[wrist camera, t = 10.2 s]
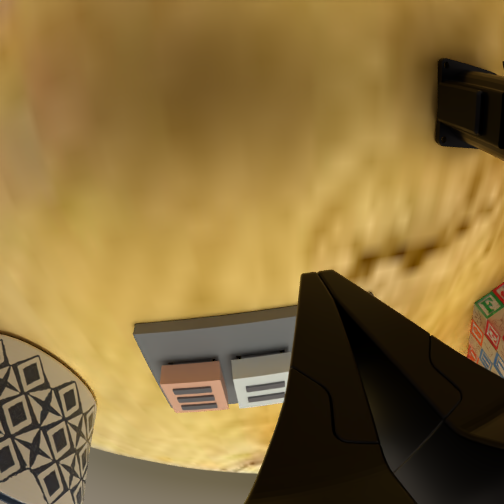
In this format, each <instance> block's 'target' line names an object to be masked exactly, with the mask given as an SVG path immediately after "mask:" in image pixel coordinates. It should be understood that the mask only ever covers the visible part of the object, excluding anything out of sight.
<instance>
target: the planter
mask: <svg viewBox="0 0 504 504" xmlns="http://www.w3.org/2000/svg"><path fill="white" fill-rule="evenodd" d="M96 410H97V406H96V402H95V399H94V397H93V396H92V394H91V392H90V391H89V390H88V388H87V387H86V386H85V385H84V383H83V382H82V381H81V380H80V379H79V378H78V377H77V376H76V375H75V374H73V373H72V372H71V371H70V370H69V369H68V368H66V367H65V366H64V365H62V364H61V363H60V362H58V361H57V360H56V359H54V358H53V357H51V356H50V355H48V354H46V353H45V352H43V351H41V350H40V349H38V348H36V347H34V346H32V345H30V344H28V343H26V342H23V341H21V340H19V339H16V338H13V337H10V336H7V335H2V334H0V500H1V501H3V502H5V503H7V504H83V501H84V492H85V483H86V475H87V467H88V459H89V453H90V446H91V440H92V434H93V428H94V423H95V417H96Z"/></svg>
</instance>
